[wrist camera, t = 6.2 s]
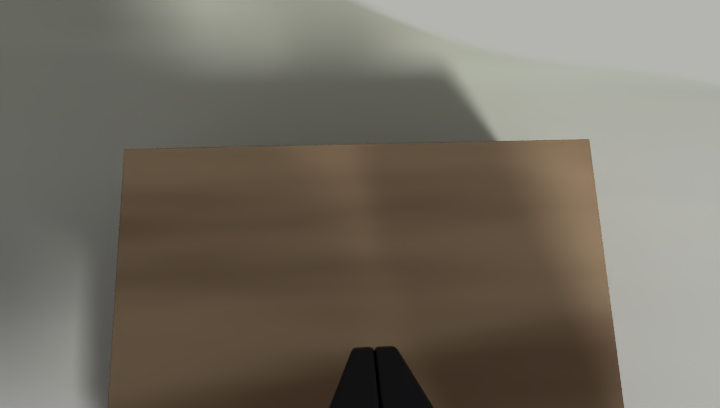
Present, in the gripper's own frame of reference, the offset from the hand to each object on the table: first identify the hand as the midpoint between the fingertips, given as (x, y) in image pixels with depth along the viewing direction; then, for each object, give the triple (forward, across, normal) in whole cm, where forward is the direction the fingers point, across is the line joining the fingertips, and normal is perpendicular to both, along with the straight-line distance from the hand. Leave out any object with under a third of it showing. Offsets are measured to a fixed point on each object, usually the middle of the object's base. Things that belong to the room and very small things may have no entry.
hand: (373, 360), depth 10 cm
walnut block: (-1, 0, +7) cm, 7 cm away
